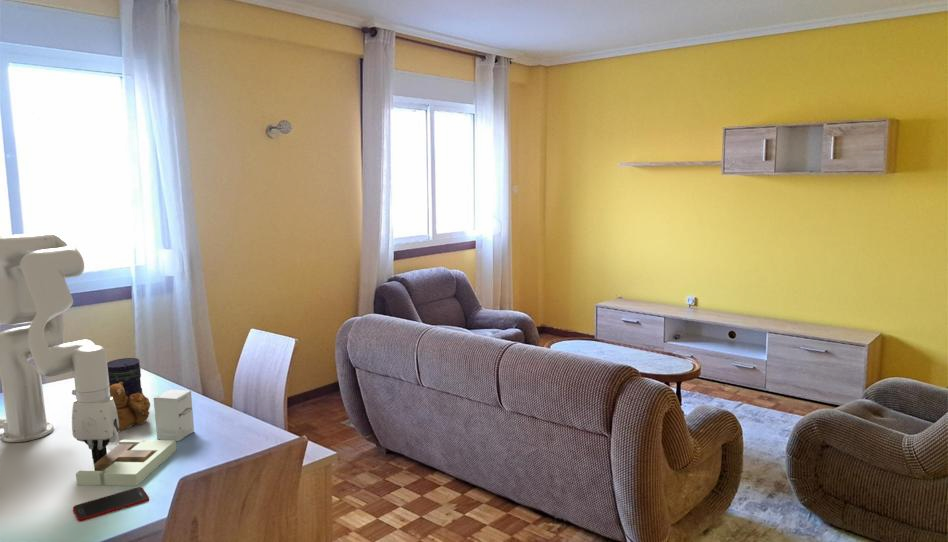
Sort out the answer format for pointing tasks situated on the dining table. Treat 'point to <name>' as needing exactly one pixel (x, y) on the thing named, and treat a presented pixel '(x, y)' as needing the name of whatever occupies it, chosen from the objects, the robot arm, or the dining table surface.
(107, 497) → the cell phone
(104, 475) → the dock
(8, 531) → the dining table surface
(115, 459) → the tee
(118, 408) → the stuffed squirrel
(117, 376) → the dark blue barrel
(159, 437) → the supplement box
